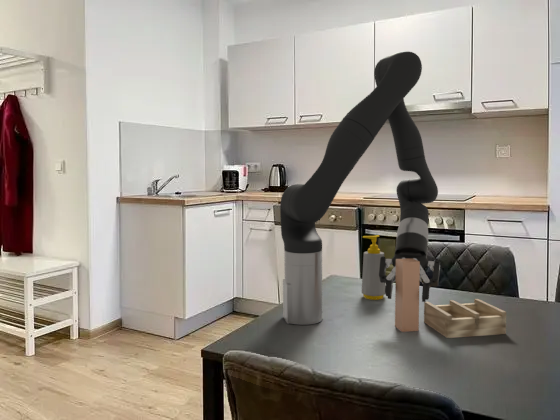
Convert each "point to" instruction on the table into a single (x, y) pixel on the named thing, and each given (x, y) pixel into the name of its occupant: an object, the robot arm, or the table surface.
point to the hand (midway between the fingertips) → (406, 298)
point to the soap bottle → (372, 272)
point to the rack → (465, 319)
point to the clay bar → (407, 295)
